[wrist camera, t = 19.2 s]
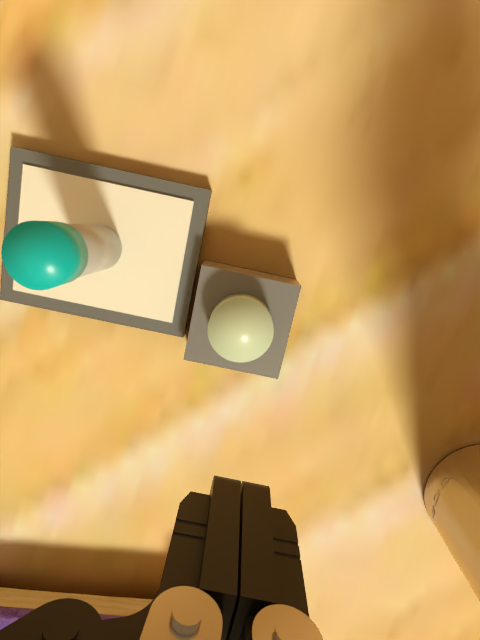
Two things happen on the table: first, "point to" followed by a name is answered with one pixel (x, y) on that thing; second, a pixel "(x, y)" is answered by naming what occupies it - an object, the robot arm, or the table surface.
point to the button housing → (235, 280)
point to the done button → (240, 328)
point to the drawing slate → (133, 230)
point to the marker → (58, 252)
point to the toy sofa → (15, 603)
